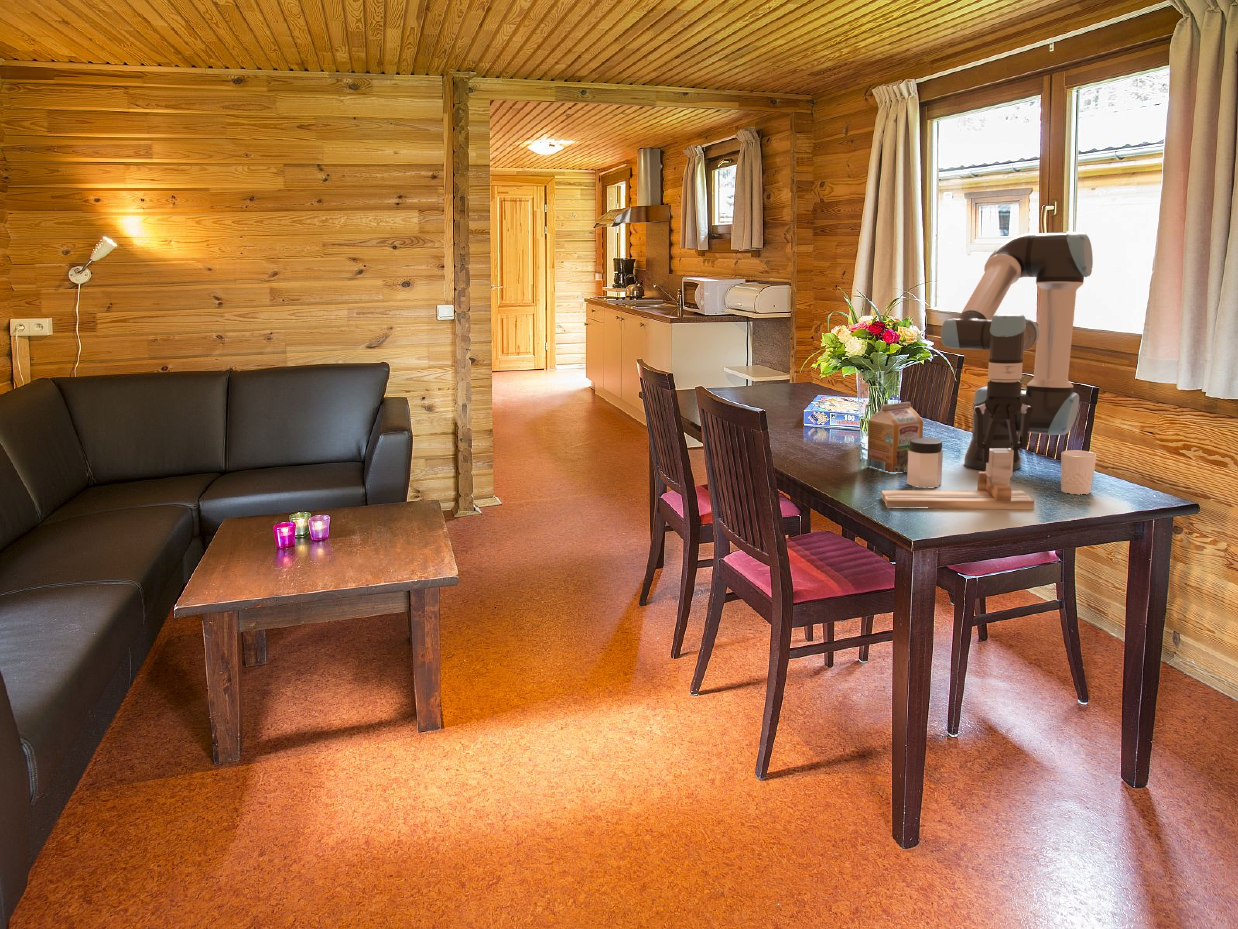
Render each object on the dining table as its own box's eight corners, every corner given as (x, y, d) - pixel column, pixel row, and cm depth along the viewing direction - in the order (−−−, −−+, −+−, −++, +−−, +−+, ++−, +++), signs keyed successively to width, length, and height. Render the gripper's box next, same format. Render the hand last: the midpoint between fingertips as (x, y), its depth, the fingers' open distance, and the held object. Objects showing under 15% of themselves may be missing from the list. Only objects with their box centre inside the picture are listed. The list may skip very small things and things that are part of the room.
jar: (948, 486, 246) (950, 441, 243) (924, 490, 242) (926, 445, 240) (923, 479, 253) (925, 436, 251) (900, 483, 250) (902, 439, 247)
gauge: (977, 494, 235) (979, 444, 232) (1001, 494, 234) (1004, 444, 231) (990, 508, 222) (993, 455, 219) (1016, 509, 221) (1020, 455, 218)
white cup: (1097, 496, 232) (1100, 456, 229) (1063, 495, 233) (1066, 456, 231) (1088, 488, 239) (1091, 450, 237) (1055, 487, 241) (1058, 450, 238)
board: (881, 498, 236) (881, 490, 236) (1021, 498, 231) (1022, 490, 231) (886, 508, 226) (887, 500, 226) (1033, 509, 222) (1034, 500, 221)
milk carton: (895, 463, 274) (897, 399, 270) (921, 470, 264) (923, 404, 260) (867, 467, 269) (869, 402, 265) (892, 474, 260) (894, 407, 256)
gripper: (970, 382, 218) (965, 479, 224) (1047, 381, 216) (1040, 479, 221) (963, 378, 226) (958, 471, 231) (1037, 377, 223) (1031, 472, 228)
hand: (998, 475), depth 226 cm, fingers closed on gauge, 4 cm apart
